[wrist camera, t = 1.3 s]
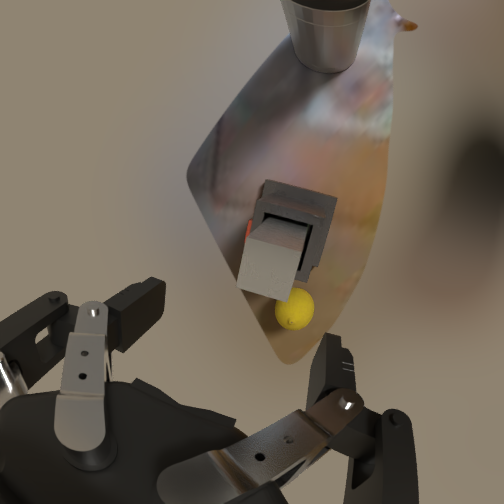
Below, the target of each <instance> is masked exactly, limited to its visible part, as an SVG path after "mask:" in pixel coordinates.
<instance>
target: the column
mask: <svg viewBox="0 0 504 504" xmlns="http://www.w3.org/2000/svg"><path fill="white" fill-rule="evenodd" d="M308 226H309V224H308V223H304V222H300V221H297V220H293V219H289V218H286V217H282V216H278V215H274V214H272V215H271V216H270V217H269V218H268V219H266V220H265V221H264V222H263V223H262V224H261V225H260V226H258V227H257V228H256V229H255V230H254V231H253V232H252V233H250V234H249V235H248V236H247V237H246V242H245V246H244V251H243V256H242V260H241V265H240V270H239V274H238V279H237V284H236V287H237V288H240V289H243V290H246V291H250V292H253V293H256V294H260V295H263V296H266V297H270V298H273V299H277V300H280V301H283V302H287V301H288V298H289V295H290V291H291V288H292V285H293V281H294V278H295V275H296V271H297V268H298V264H299V261H300V257H301V254H302V250H303V245H304V241H305V237H306V234H307V230H308Z"/></svg>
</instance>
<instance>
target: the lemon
mask: <svg viewBox="0 0 504 504" xmlns="http://www.w3.org/2000/svg"><path fill="white" fill-rule="evenodd" d="M313 313H314V302H313V299H312V297H311V296H310V294H309V293H308V292H306V291H305V290H303V289H301V288H291V291H290V295H289V298H288V301H287V302H283V301H280V300H277V301H276V305H275V315H276V319H277V321H278V322H279V324H280V325H281V326H282V327H284V328H286V329H288V330H299V329H302V328H303V327H305V326H306V325H307V324H308V323H309V322H310V320H311V318H312V316H313Z"/></svg>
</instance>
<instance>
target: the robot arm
mask: <svg viewBox="0 0 504 504" xmlns="http://www.w3.org/2000/svg"><path fill="white" fill-rule="evenodd" d="M280 1H281V4H282V7H283V10H284V14H285V17H286V20H287V24H288V28H289V32H290V35H291V39H292V43H293V47H294V51H295V54H296V56H297V57H298V59H299V60H300V61H301V62H302V64H304V65H305V66H306V67H308V68H310V69H312V70H314V71H317V72H321V73H336V72H341V71H343V70H345V69H347V68H348V67H349V66H351V64H352V63H353V62H354V60H355V58H356V55H357V51H358V48H359V44H360V41H361V37H362V33H363V30H364V26H365V22H366V18H367V14H368V10H369V6H370V2H371V0H280ZM165 292H166V283H165V282H164V281H162V280H159V279H157V278H154V277H150V278H148V279H147V280H145V281H144V282H142V283H141V282H139V283H135V284H132V285H130V286H128V287H127V288H125V289H124V290H122V291H120V292H119V293H117V294H116V295H114V296H113V297H111V298H110V299H108V300H106V301H105V302H104V303H101V302H98V301H89V302H86V303H84V304H82V305H81V306H80V307H78V306H74V305H70V304H68V299H67V295H66V294H64V293H63V292H59V291H52V292H48V293H46V294H44V295H43V296H41V297H39V298H38V299H36V300H34V301H33V302H31V303H30V304H28V305H27V306H25V307H23V308H21V309H20V310H18V311H17V312H15V313H13V314H12V315H10V316H9V317H7V318H6V319H4V320H3V321H1V322H0V504H288V502H287V501H286V499H285V497H284V496H283V494H282V492H281V489H282V488H283V487H285V486H286V485H288V484H289V483H290V482H292V481H293V480H294V479H295V478H297V477H298V476H299V475H300V474H301V473H302V472H303V471H305V470H306V469H307V468H309V467H310V466H311V465H313V464H314V463H315V462H316V461H318V460H319V459H320V458H321V457H322V456H324V455H325V454H326V453H327V452H328V451H330V450H331V449H333V450H335V451H338V452H340V453H342V454H344V455H346V456H349V462H348V472H347V480H346V488H345V496H344V502H343V504H419V492H418V476H417V463H416V453H415V445H414V437H413V430H412V423H411V420H410V418H409V417H408V416H407V415H406V414H405V413H404V412H402V411H400V410H397V409H388V410H386V411H385V412H384V413H383V414H382V415H381V414H378V413H376V412H374V411H371V410H369V409H367V408H366V407H364V400H363V398H362V397H361V396H360V395H359V394H358V393H357V392H356V382H355V372H354V366H353V365H354V362H353V356H352V354H351V353H350V351H349V350H348V349H346V348H342V347H341V337H340V336H337V335H334V334H330V333H325V334H324V336H323V338H322V340H321V343H320V345H319V347H318V350H317V352H316V354H315V356H314V359H313V362H312V365H311V369H310V379H309V387H308V395H307V403H306V411H304V412H303V411H302V410H301V409H298V410H296V411H294V412H292V413H290V414H289V415H287V416H285V417H284V418H282V419H280V420H278V421H277V422H275V423H274V424H271V425H270V426H268V427H266V428H264V429H262V430H261V431H259V432H257V433H255V434H253V435H251V436H249V437H248V436H247V435H246V434H244V433H243V432H242V431H240V430H239V429H237V428H236V427H234V425H235V422H236V419H234V418H231V417H228V416H225V415H222V414H219V413H216V412H214V411H211V410H206V409H200V408H195V407H190V406H185V405H181V404H179V403H177V402H176V401H175V400H173V399H172V398H171V397H169V396H168V395H166V394H165V393H164V392H162V391H161V390H160V389H158V388H156V387H154V386H152V385H150V384H148V383H146V382H144V381H142V380H140V379H138V378H136V379H135V380H134V381H133V382H132V383H126V382H118V381H113V365H112V351H113V350H114V349H116V350H118V351H120V352H122V353H124V352H125V351H126V350H127V349H128V348H130V347H131V345H133V344H134V343H135V342H136V341H137V340H138V339H139V338H140V337H141V336H142V335H143V334H144V333H145V332H146V331H148V330H149V329H150V328H151V327H152V326H153V325H154V324H155V323H156V322H157V321H158V320H159V319H160V318H161V316H162V314H163V312H164V305H165ZM46 327H47V329H48V333H49V334H48V335H47V336H46V337H45V338H43V339H42V340H41V341H39V342H38V343H37V344H36V343H35V338H36V335H37V334H38V333H39V332H40V331H42V330H43V329H44V328H46ZM64 357H65V359H64V366H63V373H62V380H61V389H60V390H57V391H50V392H43V393H35V394H27V393H28V390H29V389H30V388H31V387H32V386H33V385H34V384H35V383H36V382H37V381H39V380H40V379H41V377H43V376H44V375H45V374H46V373H47V372H48V371H49V370H51V369H52V368H53V367H54V366H55V365H56V364H57V363H58V362H59V361H60V360H62V359H63V358H64Z"/></svg>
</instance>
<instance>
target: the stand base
mask: <svg viewBox="0 0 504 504" xmlns="http://www.w3.org/2000/svg"><path fill="white" fill-rule="evenodd" d="M336 202H337V197H333V196H330V195H326V194H323V193H319V192H316V191H312V190H308V189H304V188H301V187H297V186H293V185H289V184H285V183H281V182H277V181H273V180H268V179H266V180H265V185H264V189H263V194H262V198H260V199H258V200H257V202H256V207H255V211H254V216H253V219H250V220H249V222H248V227H247V232H246V236H245V241H244V243H245V242H246V237H247V236H248V235H249V234H250V233H252V232H253V231H254V230H255V229H256V228H257V227H258V226H260V225H261V224H262V223H263V222H264V221H265V220H266V219H268V218H269V217H270V216H271V215H272V214H274V215H278V216H282V217H286V218H289V219H293V220H297V221H300V222H304V223H308V224H309V226H308V230H307V234H306V237H305V241H304V245H303V250H302V254H301V257H300V261H299V264H298V268H297V271H296V275H295V278H294V279H295V280H299V281H302V282H306V283H307V281H308V278H309V275H310V271H311V268H312V266H316V267H318V265H319V262H320V258H321V255H322V252H323V248H324V245H325V242H326V238H327V235H328V231H329V228H330V224H331V221H332V217H333V213H334V210H335V206H336Z"/></svg>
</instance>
